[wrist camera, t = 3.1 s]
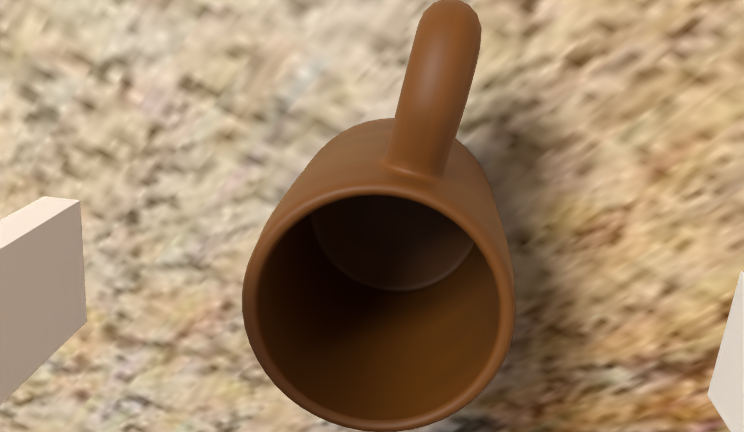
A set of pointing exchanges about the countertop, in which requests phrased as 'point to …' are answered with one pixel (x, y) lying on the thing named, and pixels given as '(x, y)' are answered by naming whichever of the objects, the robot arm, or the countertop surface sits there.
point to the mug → (389, 257)
